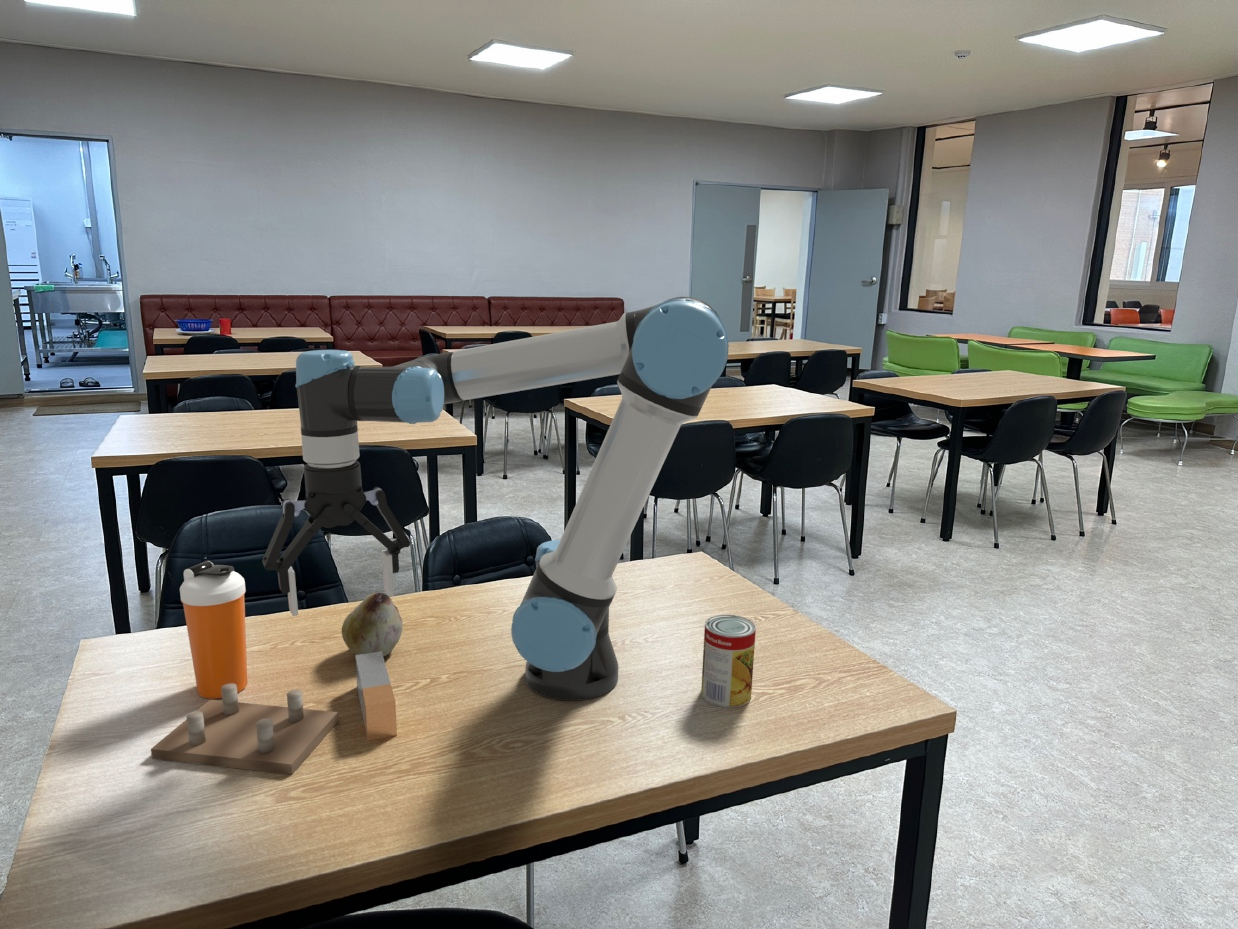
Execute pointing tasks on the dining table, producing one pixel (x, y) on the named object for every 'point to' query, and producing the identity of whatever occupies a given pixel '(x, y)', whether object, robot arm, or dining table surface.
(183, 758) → the peg rack
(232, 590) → the shaker bottle
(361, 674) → the bar
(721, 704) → the canned food
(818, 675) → the dining table surface
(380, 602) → the fruit
